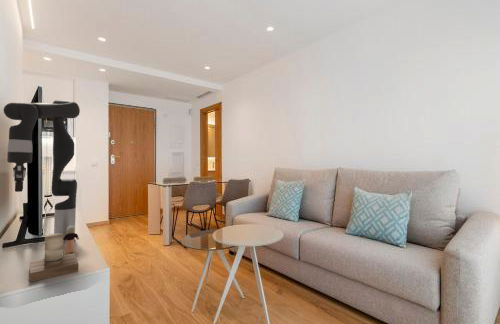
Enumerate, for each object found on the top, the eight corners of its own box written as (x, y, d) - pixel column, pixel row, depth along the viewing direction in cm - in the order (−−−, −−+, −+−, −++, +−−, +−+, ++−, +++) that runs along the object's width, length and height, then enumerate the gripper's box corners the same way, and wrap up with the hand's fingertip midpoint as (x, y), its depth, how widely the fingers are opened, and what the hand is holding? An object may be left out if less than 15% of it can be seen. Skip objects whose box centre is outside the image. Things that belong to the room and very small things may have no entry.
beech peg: (43, 268, 96) (44, 234, 97) (61, 264, 100) (62, 232, 100) (44, 273, 92) (45, 238, 92) (63, 269, 96) (64, 235, 96)
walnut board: (29, 269, 97) (30, 261, 97) (73, 260, 106) (73, 253, 106) (29, 281, 86) (30, 273, 86) (78, 271, 96) (78, 263, 96)
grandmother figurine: (66, 256, 111) (67, 227, 111) (59, 255, 112) (59, 227, 112) (81, 250, 118) (81, 224, 119) (74, 250, 119) (75, 223, 119)
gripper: (32, 151, 99) (31, 191, 99) (32, 152, 110) (31, 189, 109) (6, 150, 94) (4, 192, 94) (8, 151, 105) (7, 189, 104)
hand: (19, 190), depth 101 cm, fingers open, 8 cm apart
